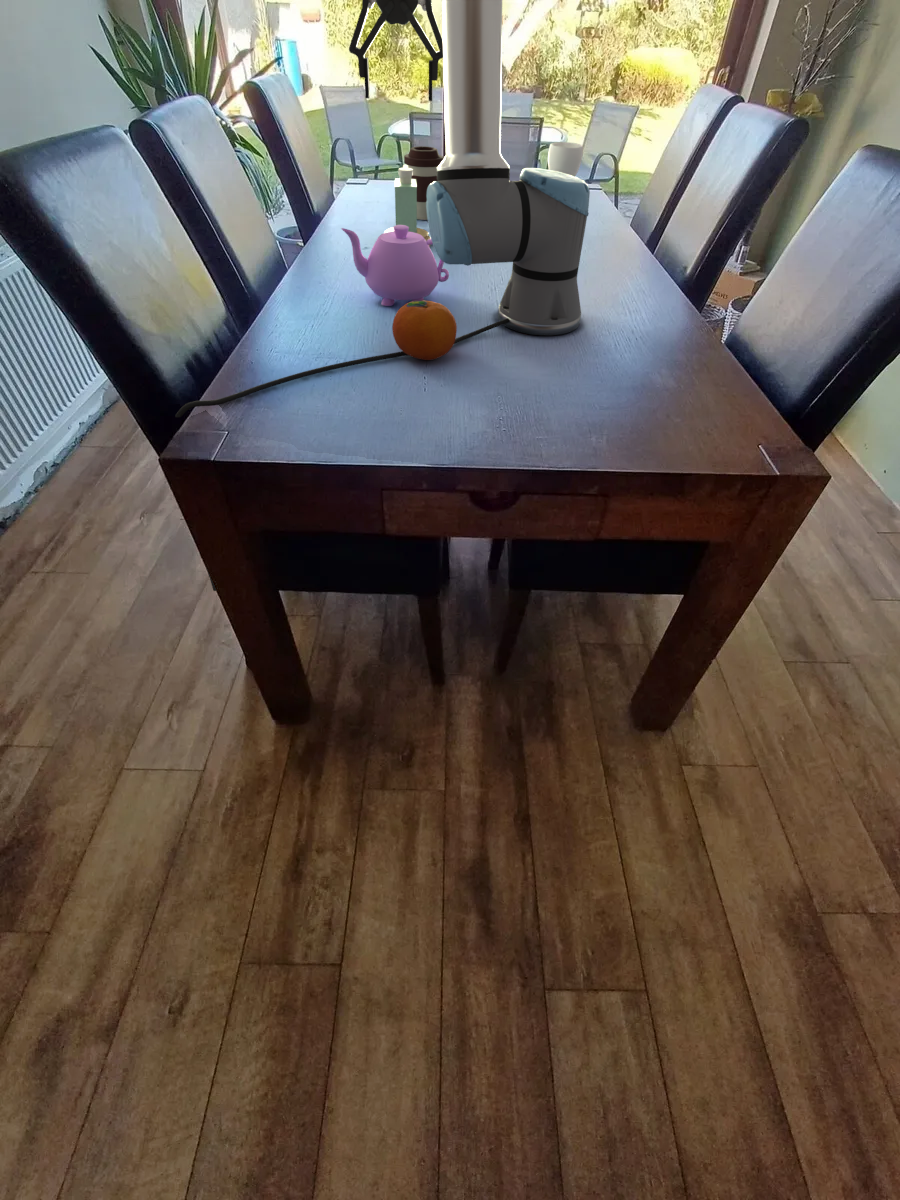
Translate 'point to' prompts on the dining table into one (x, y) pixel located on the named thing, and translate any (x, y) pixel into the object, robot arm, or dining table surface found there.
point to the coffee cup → (423, 173)
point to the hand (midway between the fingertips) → (399, 99)
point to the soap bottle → (406, 202)
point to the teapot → (399, 265)
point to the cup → (565, 157)
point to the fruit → (424, 329)
